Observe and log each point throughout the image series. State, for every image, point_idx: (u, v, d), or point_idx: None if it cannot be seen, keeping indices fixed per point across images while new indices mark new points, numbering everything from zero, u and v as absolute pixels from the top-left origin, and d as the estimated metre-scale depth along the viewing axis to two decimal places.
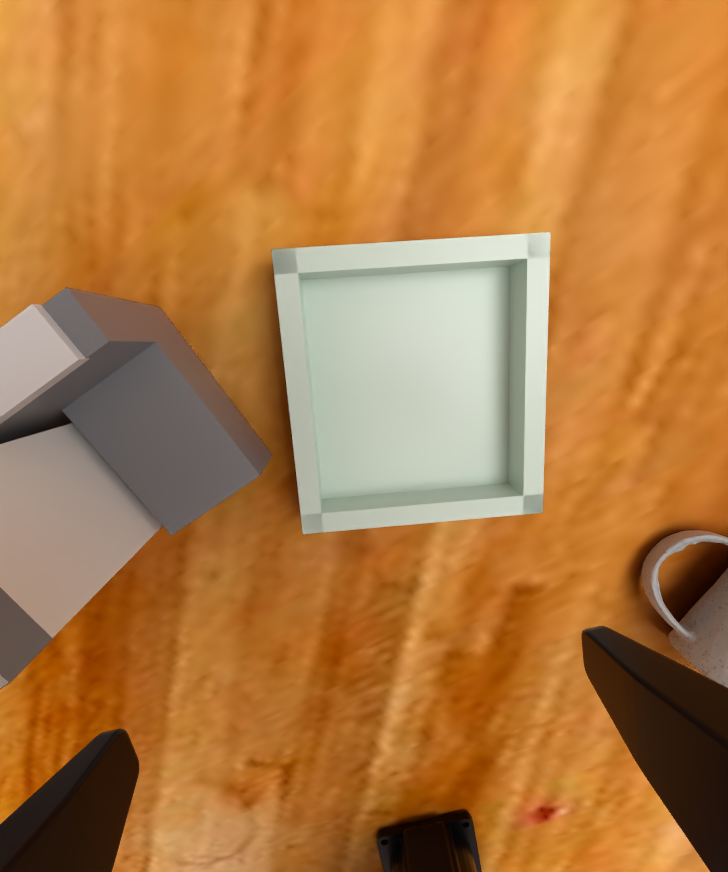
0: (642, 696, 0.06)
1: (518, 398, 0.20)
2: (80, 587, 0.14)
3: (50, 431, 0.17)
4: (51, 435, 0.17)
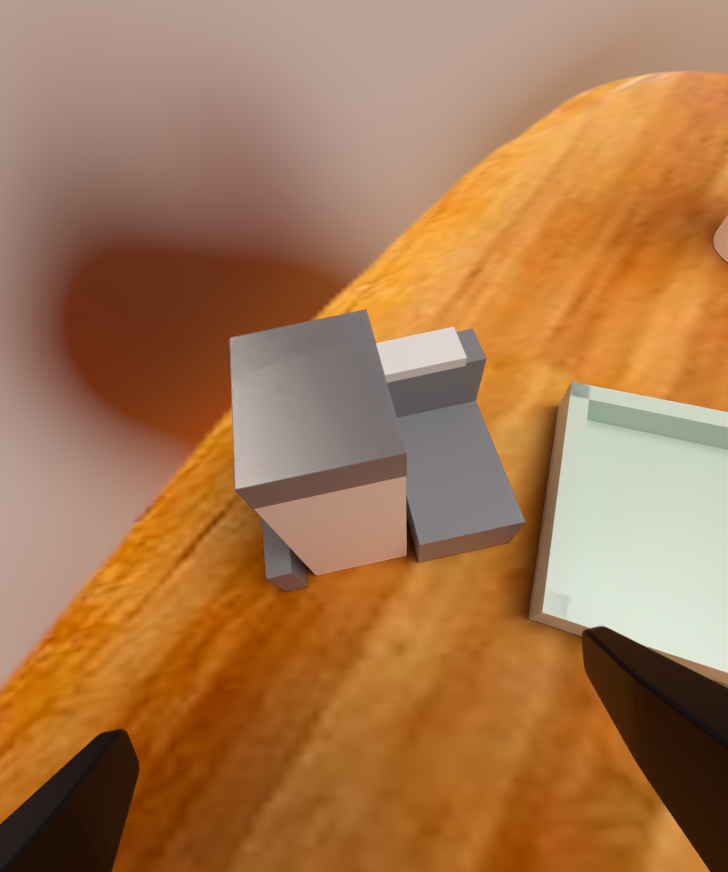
0: (642, 696, 0.06)
1: None
2: None
3: None
4: None
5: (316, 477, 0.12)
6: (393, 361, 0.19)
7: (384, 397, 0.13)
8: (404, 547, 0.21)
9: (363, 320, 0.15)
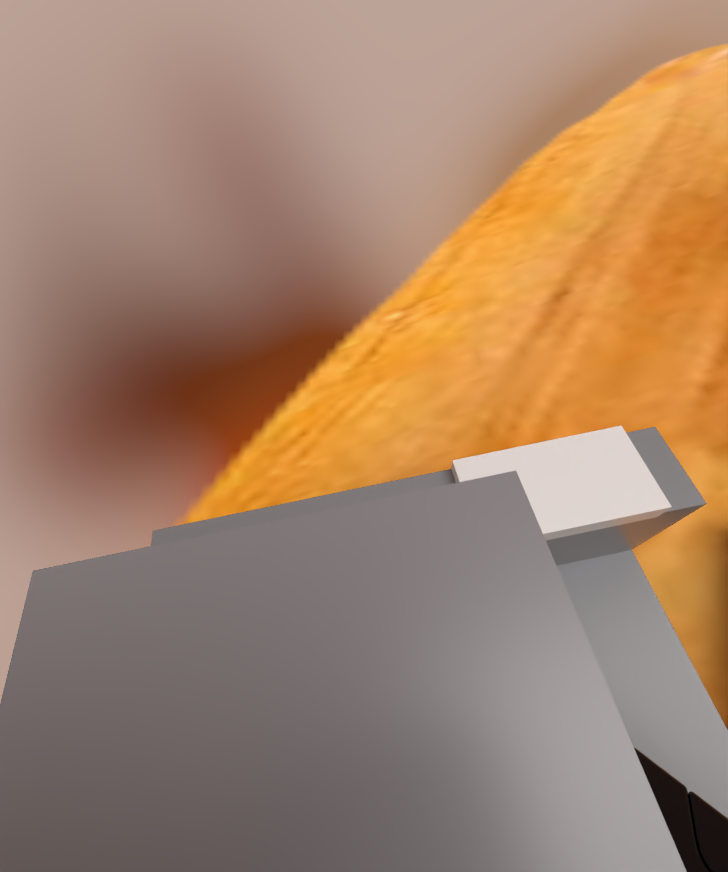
0: None
1: None
2: None
3: None
4: None
5: None
6: None
7: None
8: None
9: (515, 521, 0.04)
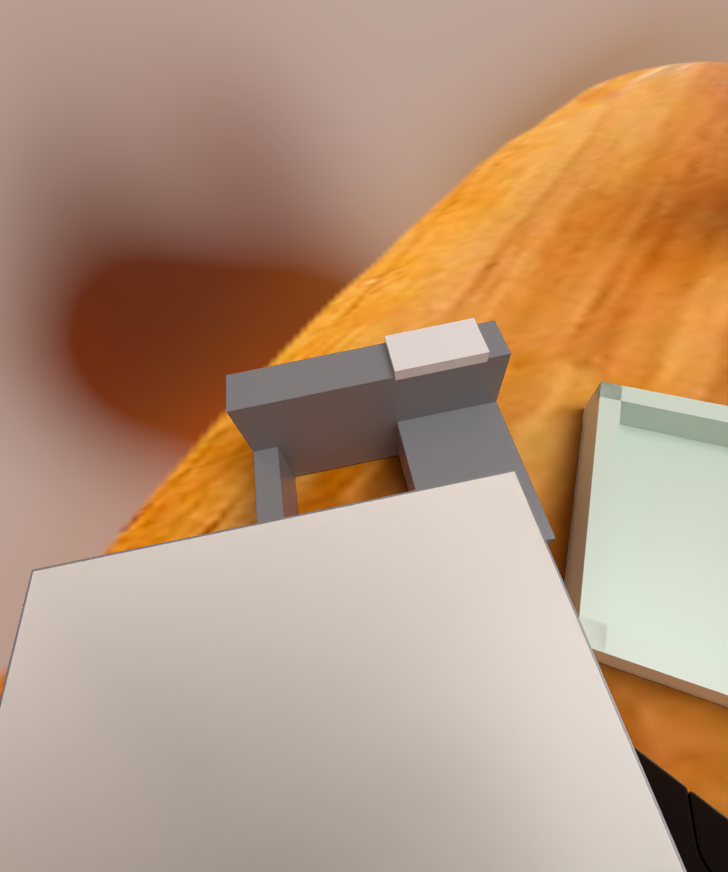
0: None
1: None
2: None
3: None
4: None
5: None
6: (407, 356, 0.17)
7: None
8: None
9: (514, 520, 0.04)
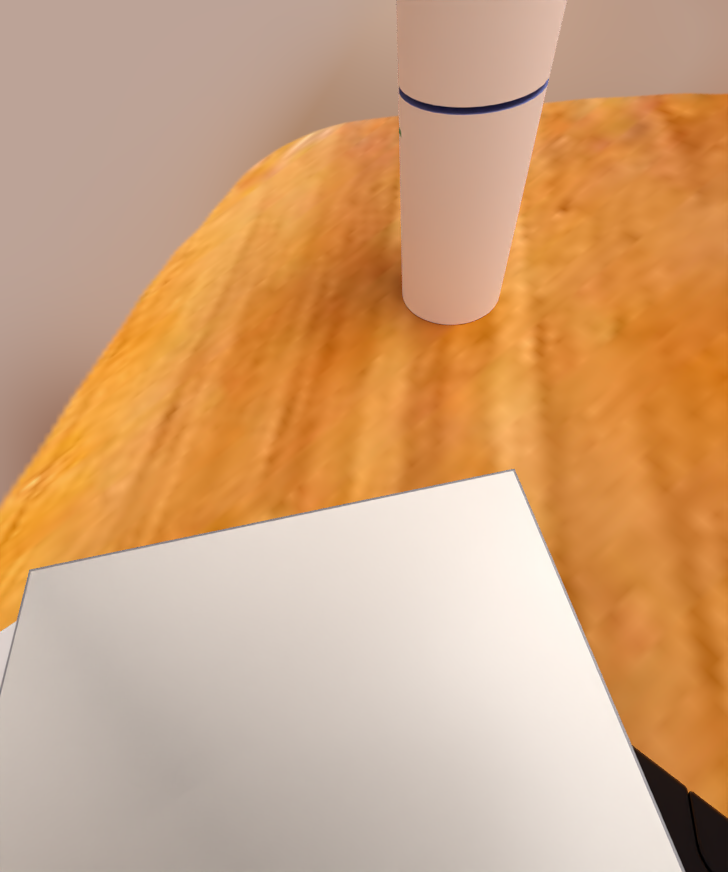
0: None
1: None
2: None
3: None
4: None
5: None
6: None
7: None
8: None
9: (513, 519, 0.04)
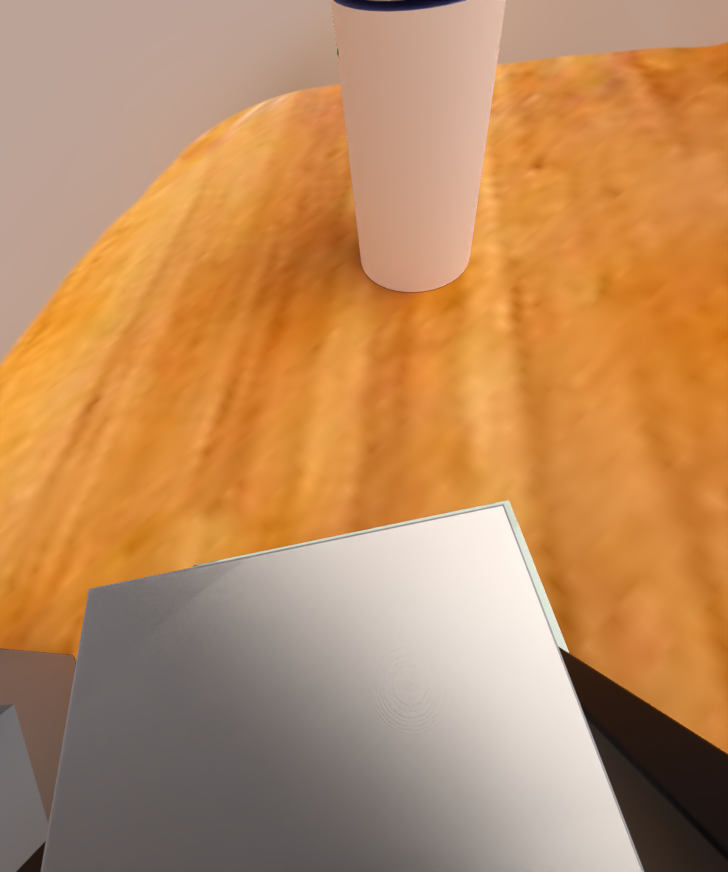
0: None
1: None
2: None
3: None
4: None
5: None
6: None
7: None
8: None
9: (501, 549, 0.05)
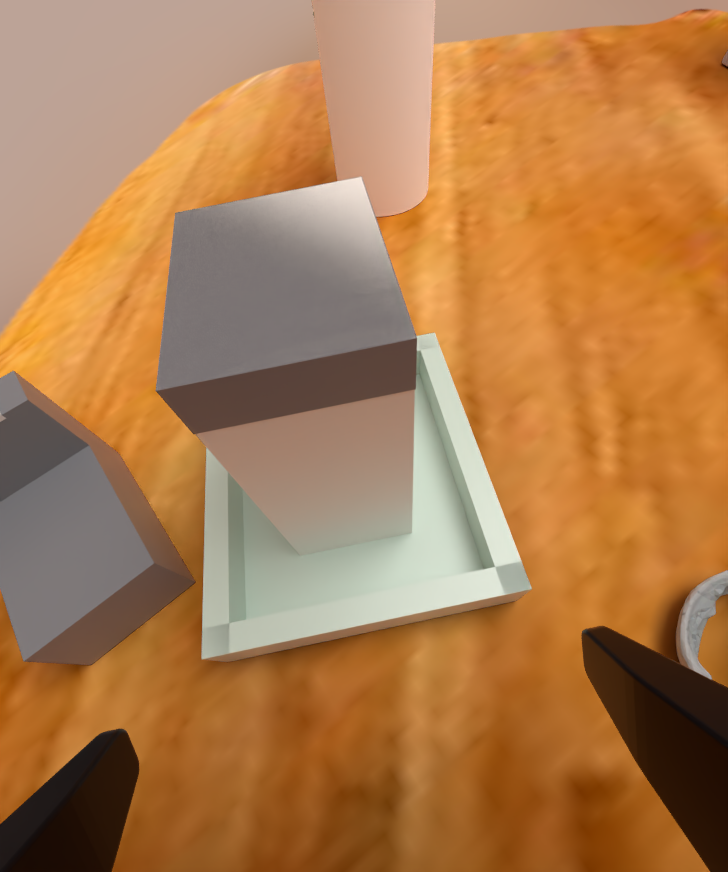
0: (642, 696, 0.06)
1: (455, 463, 0.18)
2: None
3: None
4: None
5: (281, 377, 0.08)
6: None
7: (385, 271, 0.09)
8: (409, 519, 0.17)
9: (357, 188, 0.11)
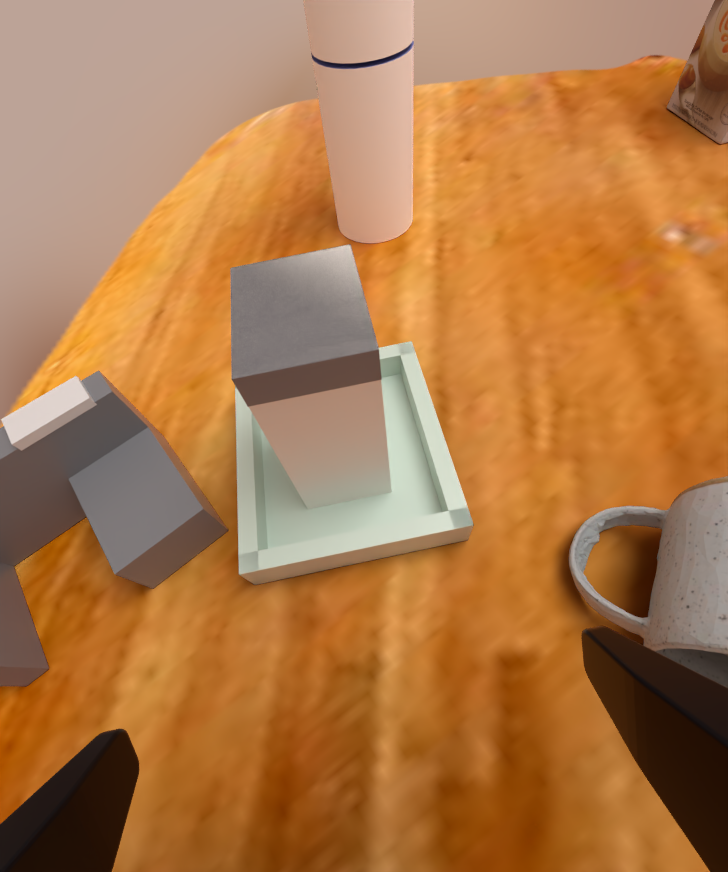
0: (642, 696, 0.06)
1: (424, 440, 0.24)
2: None
3: None
4: None
5: (301, 371, 0.14)
6: (21, 427, 0.20)
7: (362, 309, 0.15)
8: (388, 479, 0.23)
9: (347, 252, 0.17)
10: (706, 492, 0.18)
